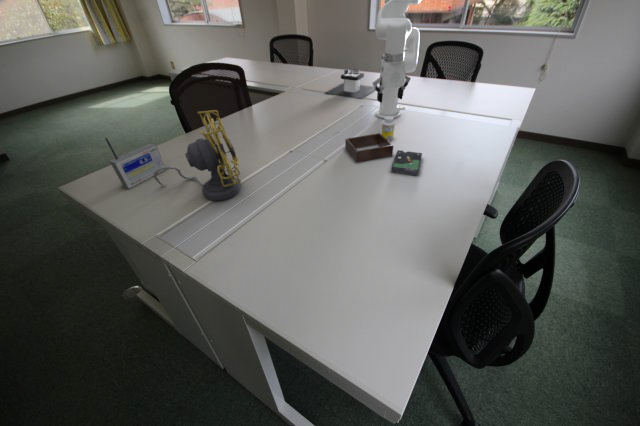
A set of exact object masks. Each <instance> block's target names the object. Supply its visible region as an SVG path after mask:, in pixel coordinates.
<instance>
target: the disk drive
mask: <svg viewBox="0 0 640 426" xmlns="http://www.w3.org/2000/svg"><path fill="white" fill-rule="evenodd" d="M422 156H423V153H422V152H415V151H406V152H405V151H403V150H400V149H399V150H397V151H396V154H395V156H394V159H393V162H392V165H391V169H390V172H392V173H395V174H403V175H408V176H409V175H410V176H418V175H419V171H420V166H421V161H422Z"/></svg>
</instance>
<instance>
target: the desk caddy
mask: <svg viewBox="0 0 640 426" xmlns="http://www.w3.org/2000/svg"><path fill="white" fill-rule="evenodd" d="M344 143H345V147H344V148H345V151H346V152H347V153H348V154H349V155H350V157H351V158H352V160H354V162H355V164H357V163H362V162H367V161H373V160H374V161H375V160H378V159H383V158H384V159H385V158H389V157H393V154H394V153H393V152H394V144H392V142H390V140H389V141H388V140H387V139H386V138H385V137H383V136H382V133H380V132H379V133H371V134H365V135H361V136H353V137H348V138H345V142H344ZM376 145H378V146H377V147H371V148H365V149H361V150H358V149H359V148H364V147H370V146H376Z"/></svg>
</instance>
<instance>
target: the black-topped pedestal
mask: <svg viewBox="0 0 640 426" xmlns="http://www.w3.org/2000/svg"><path fill="white" fill-rule="evenodd" d="M364 77H365V73H360V69H357V68H356V69H355V68H351V69H350V72H349V68H346V69H343V73H342V74H340V79H341V80H343V83H341V84H339V85H338V86H335V87H333V88H332V89H329V90H328V91H326V92H325V94H328V95H334V96H341V97H349V98H355V99H361V100H362V99H363V98H365V97H367V96H368V95H369V94H371V93H372V92H374V91H376V90H375V89H374V86H369V85H361V79H363V78H364Z"/></svg>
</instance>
